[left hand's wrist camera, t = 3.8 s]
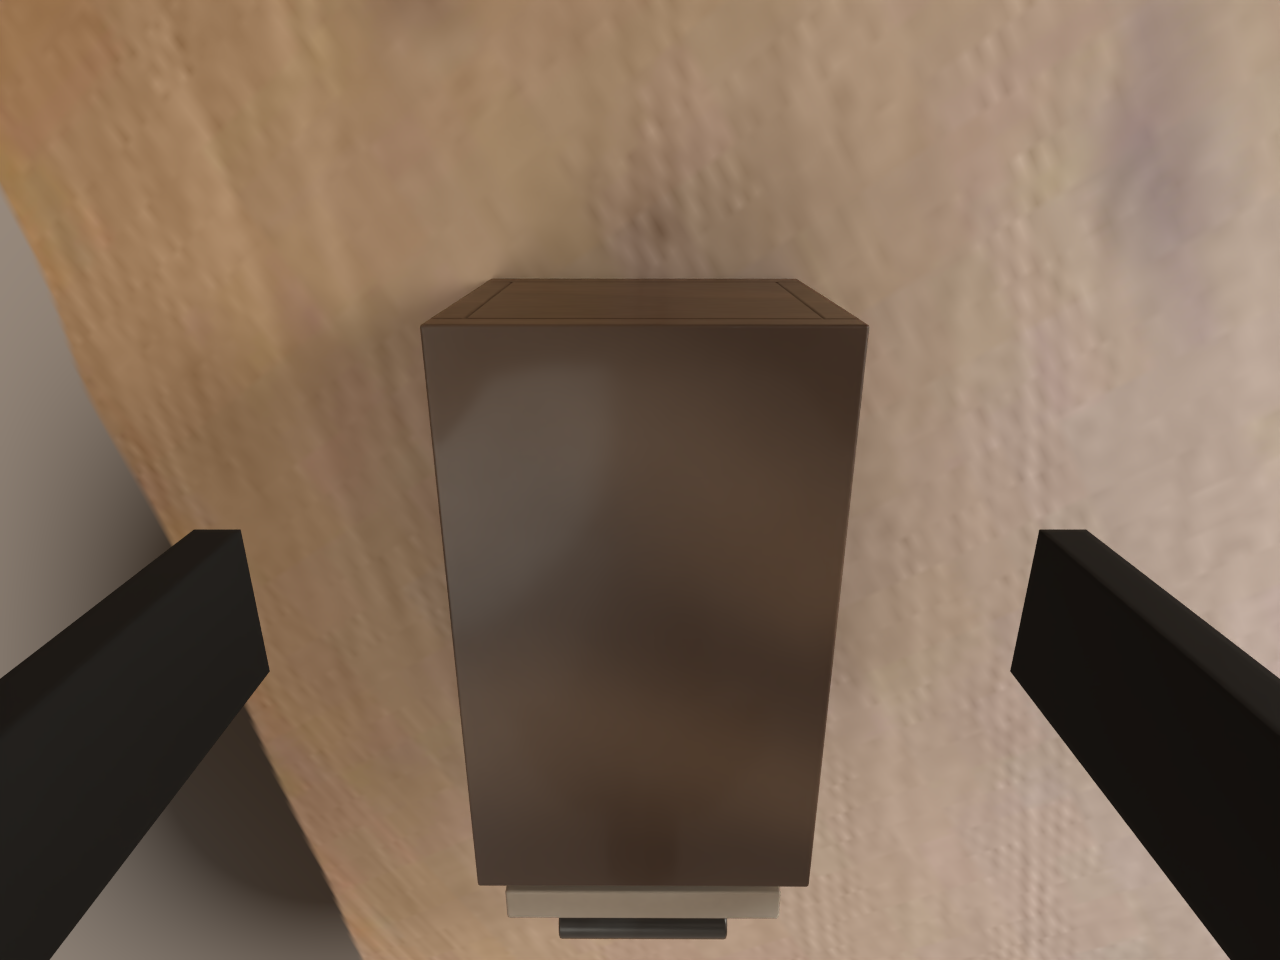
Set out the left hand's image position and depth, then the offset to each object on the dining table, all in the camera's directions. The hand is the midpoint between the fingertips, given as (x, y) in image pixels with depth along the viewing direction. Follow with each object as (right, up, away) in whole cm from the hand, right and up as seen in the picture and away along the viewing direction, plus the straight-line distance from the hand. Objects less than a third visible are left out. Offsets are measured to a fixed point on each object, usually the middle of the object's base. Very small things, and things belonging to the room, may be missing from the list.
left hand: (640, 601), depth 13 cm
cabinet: (0, +1, +16) cm, 16 cm away
